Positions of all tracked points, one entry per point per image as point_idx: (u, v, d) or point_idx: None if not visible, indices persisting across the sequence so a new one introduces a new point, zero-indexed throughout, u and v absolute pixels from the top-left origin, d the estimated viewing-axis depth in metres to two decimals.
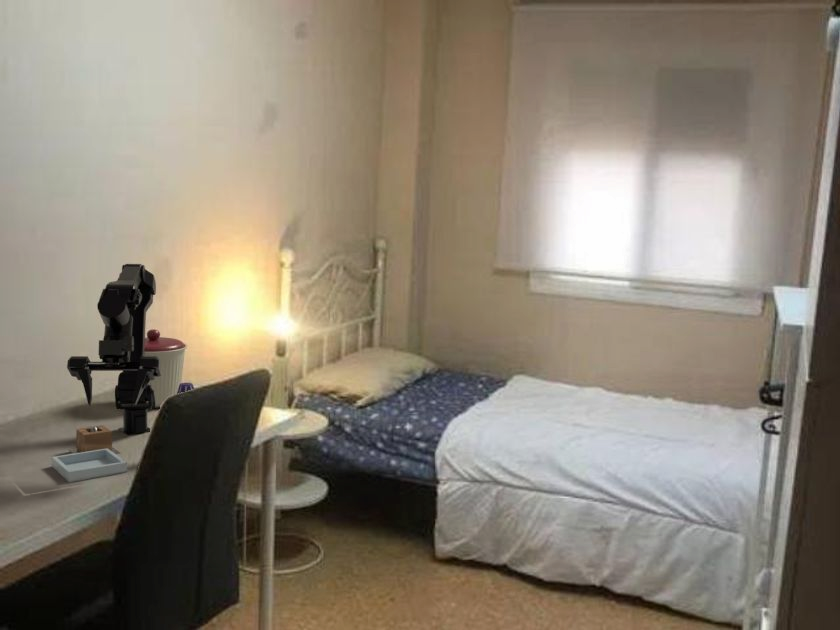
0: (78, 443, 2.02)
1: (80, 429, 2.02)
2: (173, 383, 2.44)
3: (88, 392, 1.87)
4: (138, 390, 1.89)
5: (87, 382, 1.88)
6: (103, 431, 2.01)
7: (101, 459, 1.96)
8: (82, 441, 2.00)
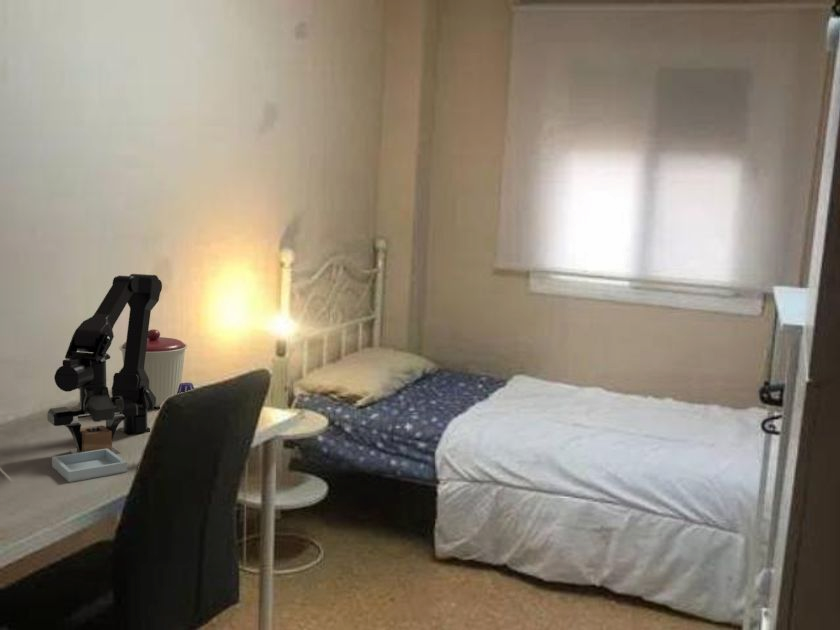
0: None
1: (80, 429, 2.02)
2: (173, 383, 2.44)
3: (80, 441, 1.99)
4: (112, 435, 2.04)
5: (79, 433, 1.99)
6: (103, 431, 2.01)
7: (101, 459, 1.96)
8: (82, 441, 2.00)
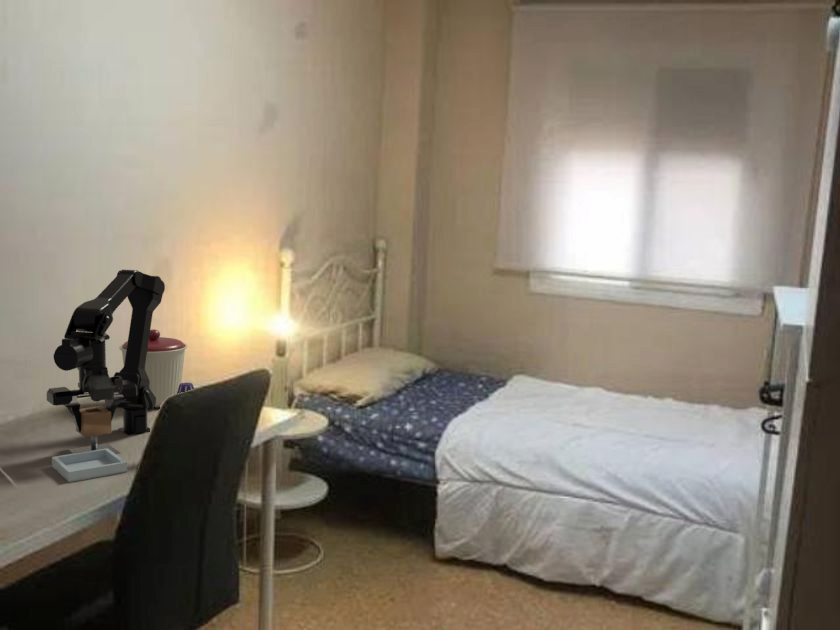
0: None
1: None
2: (173, 383, 2.44)
3: (79, 422, 1.99)
4: (112, 416, 2.03)
5: (78, 413, 1.98)
6: (102, 411, 2.00)
7: (101, 459, 1.96)
8: (81, 422, 1.99)
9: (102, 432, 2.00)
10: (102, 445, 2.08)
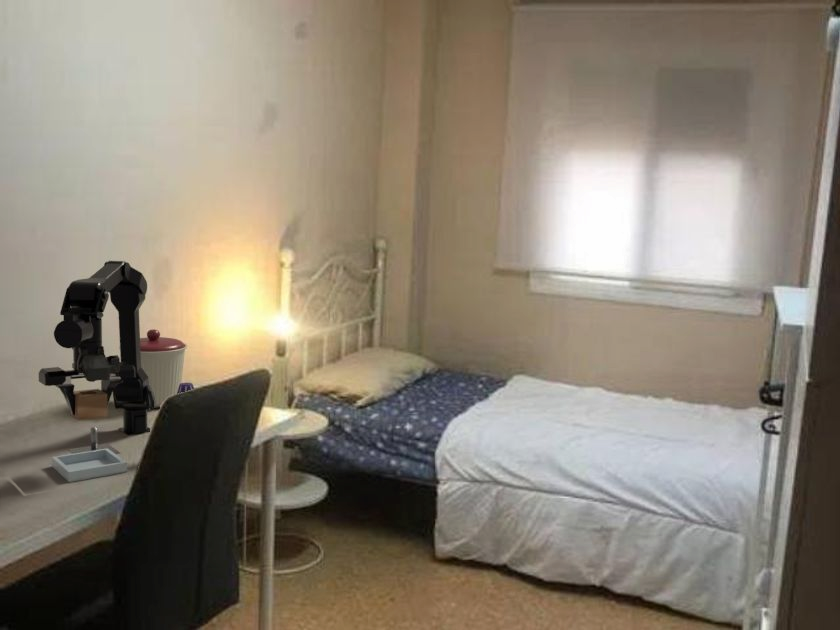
0: None
1: None
2: (173, 383, 2.44)
3: (73, 404, 1.86)
4: (108, 399, 1.91)
5: (72, 395, 1.85)
6: (98, 394, 1.88)
7: (101, 459, 1.96)
8: (75, 404, 1.86)
9: (97, 415, 1.88)
10: (102, 445, 2.08)
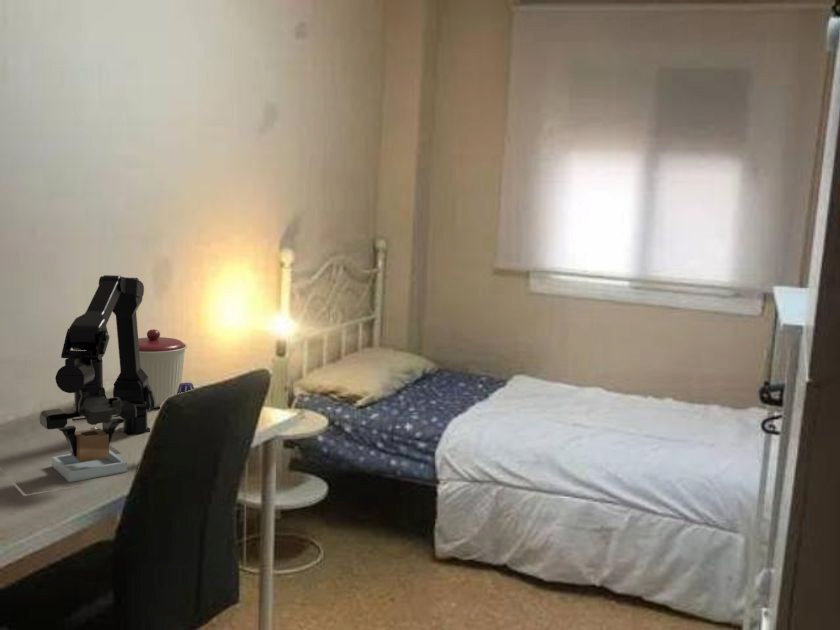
0: None
1: (75, 432, 1.89)
2: (173, 383, 2.44)
3: (75, 446, 1.86)
4: (109, 439, 1.90)
5: (73, 437, 1.85)
6: (99, 434, 1.88)
7: (101, 459, 1.96)
8: (77, 446, 1.86)
9: (99, 456, 1.88)
10: None
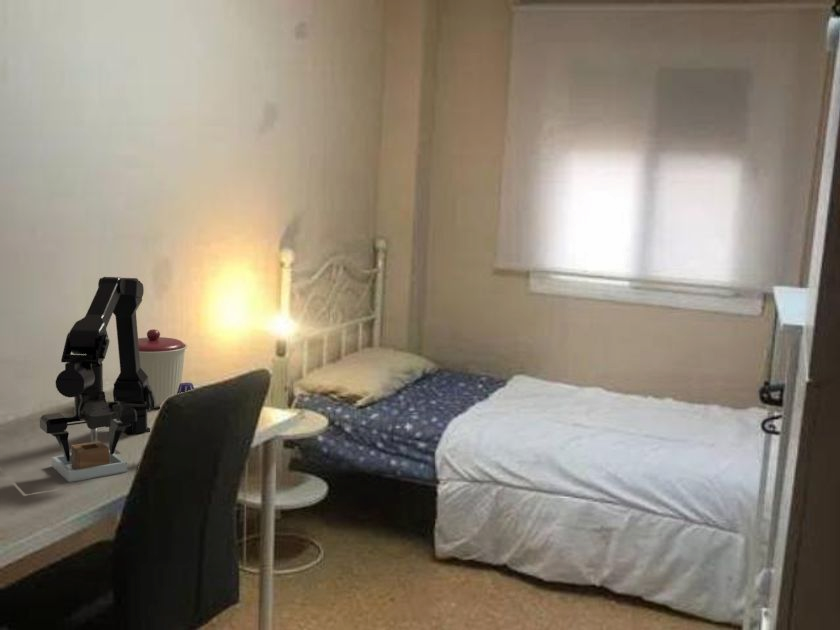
0: (73, 460, 1.89)
1: (75, 445, 1.89)
2: (173, 383, 2.44)
3: (68, 451, 1.85)
4: (116, 442, 1.91)
5: (66, 442, 1.84)
6: (100, 448, 1.88)
7: None
8: (77, 459, 1.87)
9: None
10: None
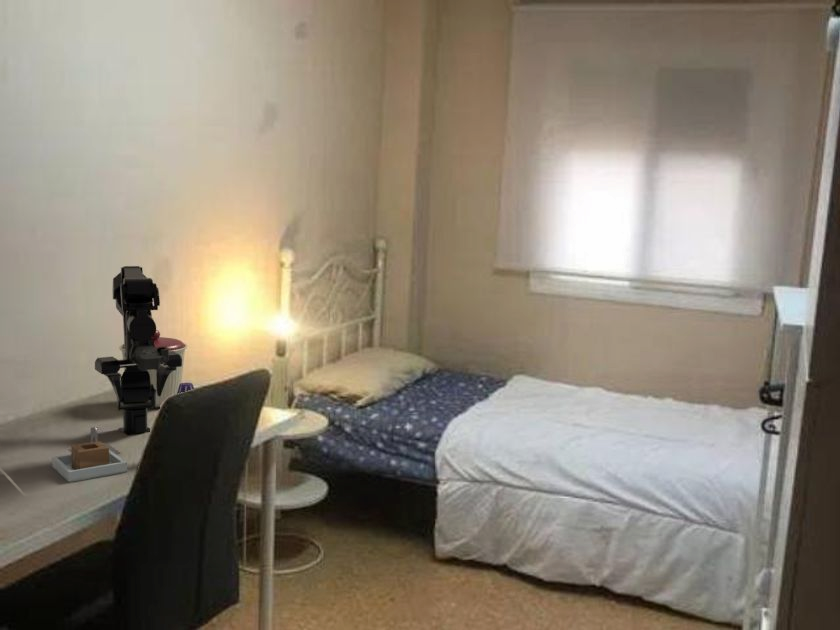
0: (73, 460, 1.89)
1: (75, 445, 1.89)
2: (173, 383, 2.44)
3: (120, 391, 2.03)
4: (163, 385, 2.08)
5: (119, 383, 2.02)
6: (100, 448, 1.88)
7: None
8: (77, 459, 1.87)
9: None
10: None
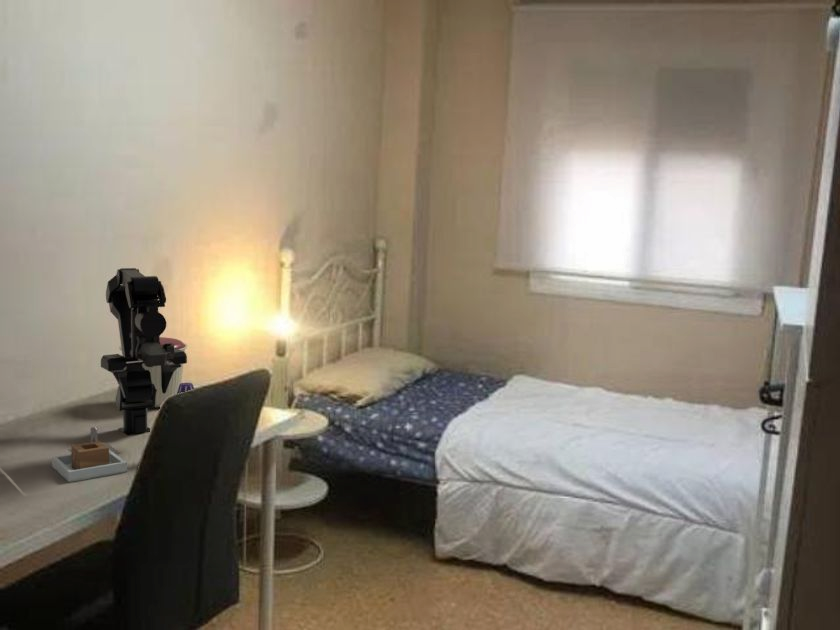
0: (73, 460, 1.89)
1: (75, 445, 1.89)
2: (173, 383, 2.44)
3: (126, 388, 2.04)
4: (168, 382, 2.10)
5: (125, 380, 2.04)
6: (100, 448, 1.88)
7: None
8: (77, 459, 1.87)
9: None
10: None
